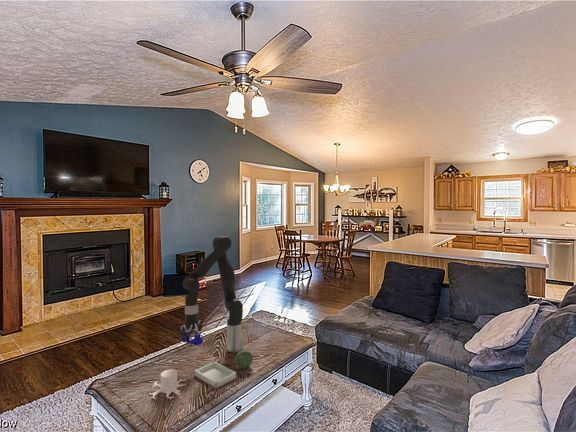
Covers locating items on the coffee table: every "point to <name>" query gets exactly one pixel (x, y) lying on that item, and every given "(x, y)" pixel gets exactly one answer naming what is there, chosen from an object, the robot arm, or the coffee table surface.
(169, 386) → the tree stump
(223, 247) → the robot arm
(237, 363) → the decorative artifact
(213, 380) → the parts tray
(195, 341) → the blue curved bracket
